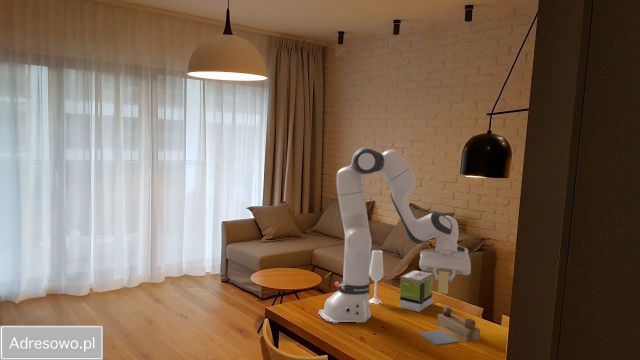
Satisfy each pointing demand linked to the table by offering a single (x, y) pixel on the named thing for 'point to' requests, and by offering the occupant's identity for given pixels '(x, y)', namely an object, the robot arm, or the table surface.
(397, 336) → the table surface
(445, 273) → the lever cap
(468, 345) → the table surface
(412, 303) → the tea box
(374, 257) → the champagne flute
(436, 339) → the rubber mat
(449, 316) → the plane body
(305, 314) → the table surface
